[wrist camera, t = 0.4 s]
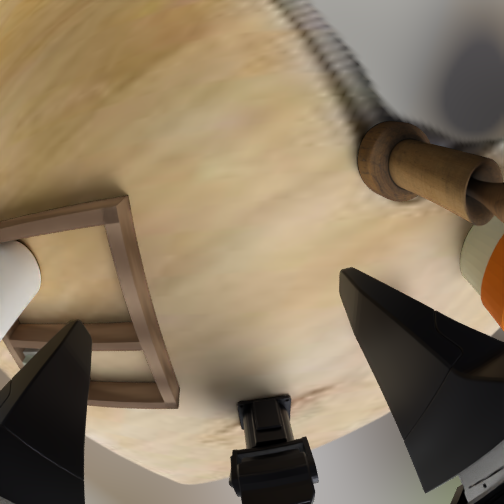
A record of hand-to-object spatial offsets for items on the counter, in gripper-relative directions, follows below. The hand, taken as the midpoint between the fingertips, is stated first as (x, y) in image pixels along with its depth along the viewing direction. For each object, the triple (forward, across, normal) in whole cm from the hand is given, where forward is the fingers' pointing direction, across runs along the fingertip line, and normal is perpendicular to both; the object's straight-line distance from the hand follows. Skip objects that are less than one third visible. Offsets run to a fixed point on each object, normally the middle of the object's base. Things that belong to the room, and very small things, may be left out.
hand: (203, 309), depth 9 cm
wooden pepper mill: (+14, -15, +1) cm, 21 cm away
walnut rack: (+13, +17, +10) cm, 24 cm away
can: (+14, +21, +3) cm, 25 cm away
